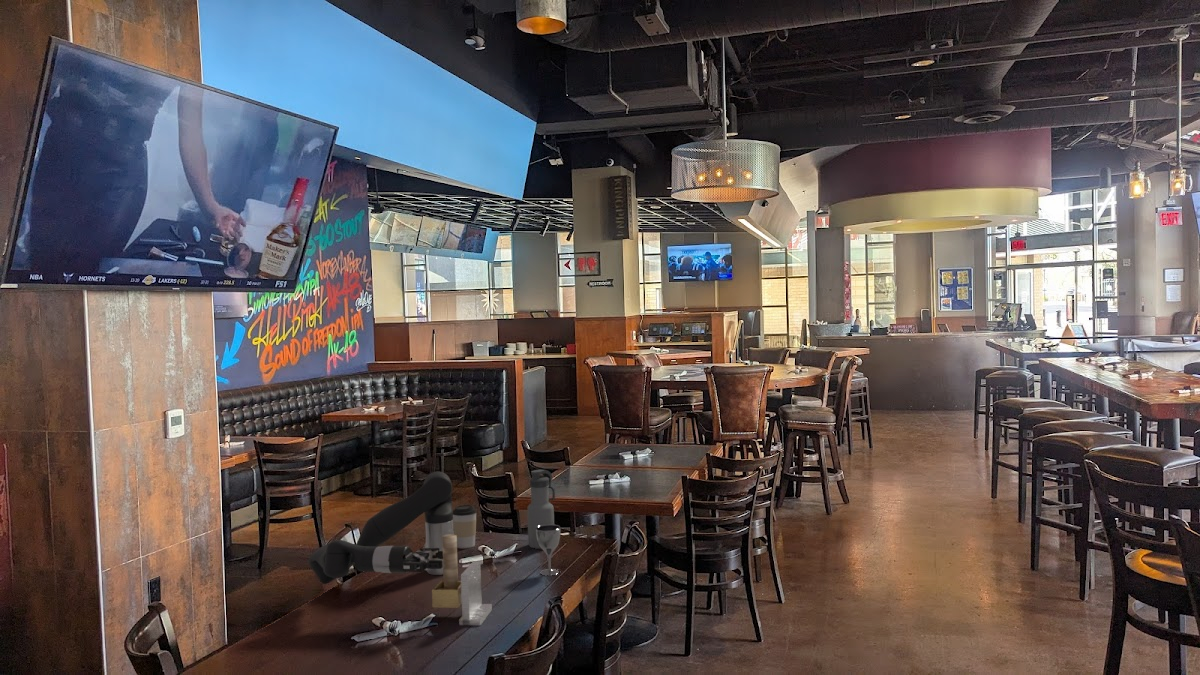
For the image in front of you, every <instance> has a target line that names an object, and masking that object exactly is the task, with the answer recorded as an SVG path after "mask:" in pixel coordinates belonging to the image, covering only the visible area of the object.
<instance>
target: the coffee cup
mask: <svg viewBox="0 0 1200 675" xmlns="http://www.w3.org/2000/svg"><path fill="white" fill-rule="evenodd" d="M452 510H453V531H454V535H456V536H457V549H469V548H472V547H475V545H476V533H477V532H476V531H477V512H478V511H477V508H475V507H474V505H471V504H462V505H458V506H456V507H454V509H452Z"/></svg>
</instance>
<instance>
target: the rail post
mask: <svg viewBox="0 0 1200 675" xmlns="http://www.w3.org/2000/svg"><path fill="white" fill-rule="evenodd" d="M442 543H443V574H442V575H443V581H444V589H457V588H458V581H459V573H458V572H459V570H458V567H459V566H458V564H459V563H458V547H457V536H456V535H455V534H454V535H453V534H449V535H444V536H443V537H442Z"/></svg>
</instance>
